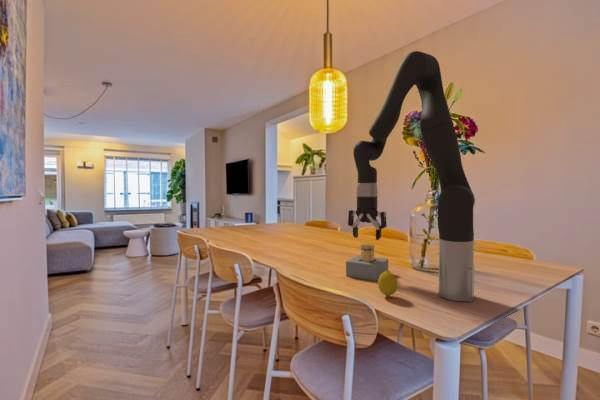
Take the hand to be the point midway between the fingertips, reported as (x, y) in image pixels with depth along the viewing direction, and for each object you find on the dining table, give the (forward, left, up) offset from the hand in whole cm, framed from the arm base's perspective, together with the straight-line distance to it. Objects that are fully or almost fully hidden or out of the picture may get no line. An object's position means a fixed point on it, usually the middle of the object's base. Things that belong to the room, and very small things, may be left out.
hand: (366, 238), depth 116 cm
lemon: (-14, +19, -14) cm, 27 cm away
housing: (0, 0, -14) cm, 14 cm away
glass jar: (0, 0, -14) cm, 14 cm away
